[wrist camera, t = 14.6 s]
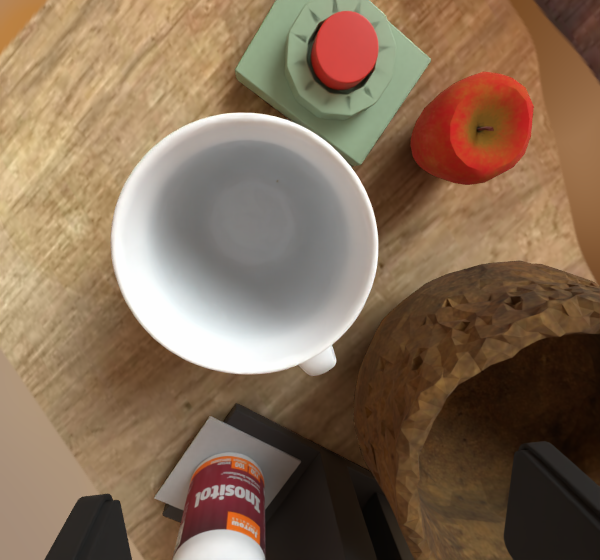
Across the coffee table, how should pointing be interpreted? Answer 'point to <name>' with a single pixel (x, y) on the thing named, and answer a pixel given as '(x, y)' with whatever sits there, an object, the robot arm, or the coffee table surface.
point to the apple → (474, 129)
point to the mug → (245, 245)
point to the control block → (312, 92)
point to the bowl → (477, 398)
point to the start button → (344, 50)
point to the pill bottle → (224, 511)
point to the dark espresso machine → (297, 492)
